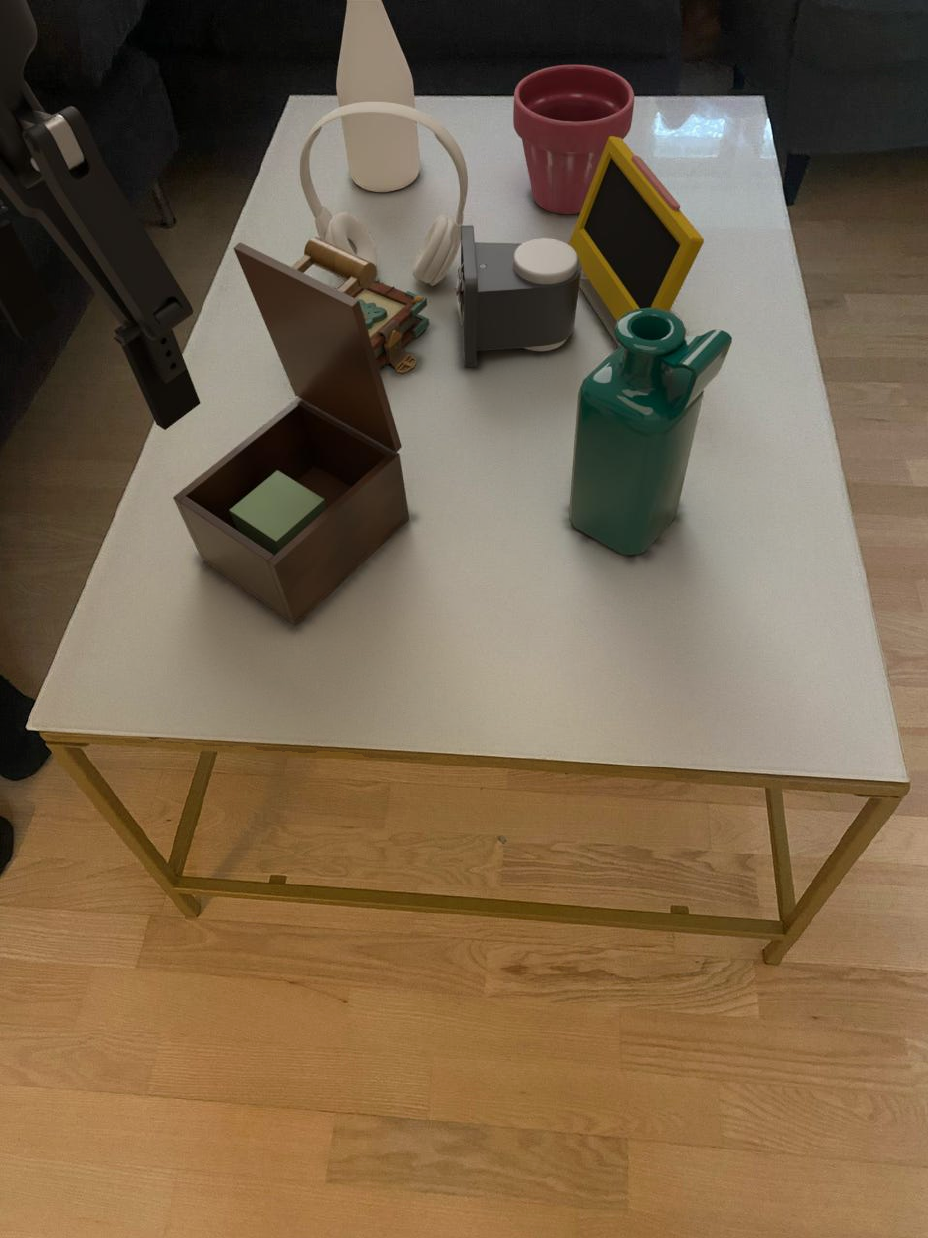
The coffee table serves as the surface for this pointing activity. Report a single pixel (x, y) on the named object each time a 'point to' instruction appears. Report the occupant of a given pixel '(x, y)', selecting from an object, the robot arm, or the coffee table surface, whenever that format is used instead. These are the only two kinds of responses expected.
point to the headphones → (351, 231)
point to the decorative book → (391, 322)
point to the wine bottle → (376, 100)
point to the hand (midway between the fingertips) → (105, 368)
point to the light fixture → (516, 294)
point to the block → (276, 512)
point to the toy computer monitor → (631, 238)
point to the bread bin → (334, 542)
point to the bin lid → (323, 334)
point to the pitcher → (640, 428)
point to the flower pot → (569, 129)
